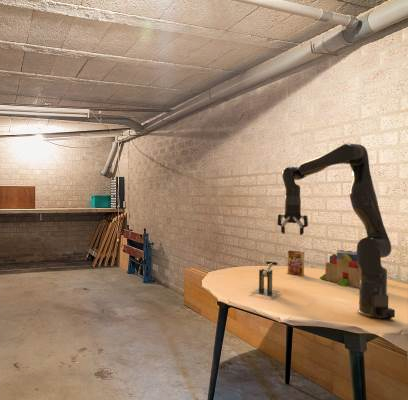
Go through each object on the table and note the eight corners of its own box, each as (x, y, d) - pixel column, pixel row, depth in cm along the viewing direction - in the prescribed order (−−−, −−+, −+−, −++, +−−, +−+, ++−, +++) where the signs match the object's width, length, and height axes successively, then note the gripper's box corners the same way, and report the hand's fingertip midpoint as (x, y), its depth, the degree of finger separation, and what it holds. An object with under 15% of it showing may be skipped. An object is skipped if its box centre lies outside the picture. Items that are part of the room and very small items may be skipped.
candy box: (287, 273, 226) (287, 250, 226) (289, 272, 229) (289, 249, 229) (302, 275, 219) (302, 252, 219) (304, 274, 222) (304, 251, 222)
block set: (315, 279, 210) (316, 247, 210) (331, 277, 215) (332, 246, 215) (363, 291, 184) (364, 255, 184) (381, 288, 189) (381, 253, 189)
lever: (267, 263, 184) (267, 259, 183) (277, 265, 180) (277, 261, 180) (260, 276, 176) (259, 272, 175) (270, 277, 172) (269, 273, 171)
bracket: (259, 290, 183) (260, 266, 183) (280, 294, 176) (280, 269, 176) (250, 295, 173) (251, 270, 173) (271, 299, 166) (272, 273, 166)
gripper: (276, 203, 186) (275, 233, 186) (305, 204, 176) (305, 235, 176) (280, 203, 191) (280, 232, 191) (309, 204, 182) (309, 234, 182)
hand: (292, 234), depth 184 cm, fingers open, 8 cm apart
